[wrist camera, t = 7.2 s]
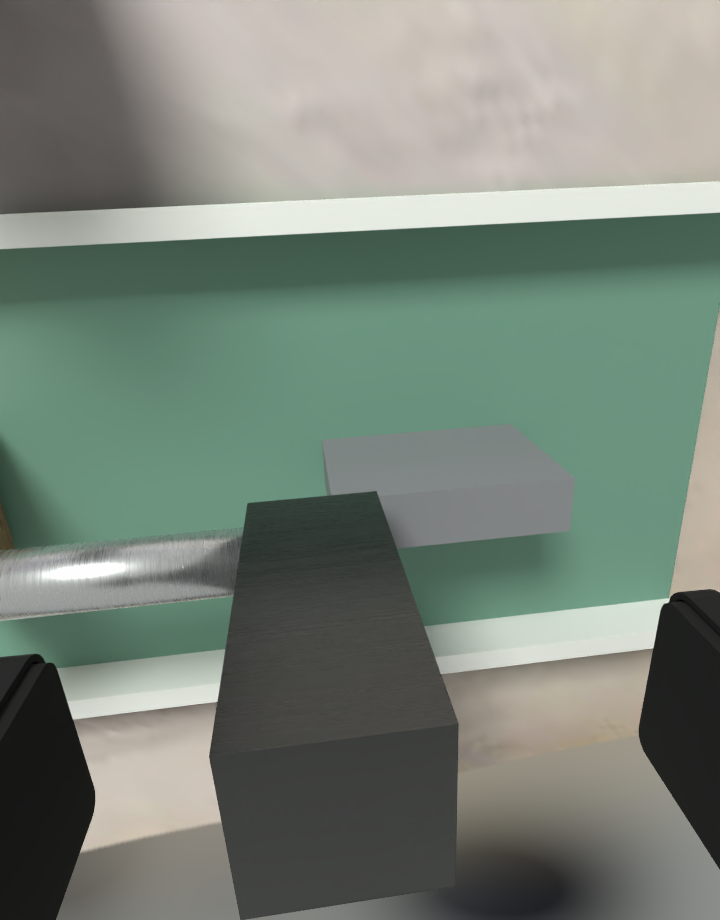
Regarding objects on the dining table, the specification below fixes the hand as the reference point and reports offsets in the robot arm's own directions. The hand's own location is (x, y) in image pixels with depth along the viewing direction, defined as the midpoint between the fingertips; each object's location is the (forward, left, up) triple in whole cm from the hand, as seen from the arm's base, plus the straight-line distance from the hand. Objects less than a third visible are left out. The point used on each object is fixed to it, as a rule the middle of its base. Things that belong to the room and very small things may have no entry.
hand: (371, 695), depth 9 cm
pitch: (+4, 0, -12) cm, 13 cm away
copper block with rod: (+6, 0, -11) cm, 12 cm away
